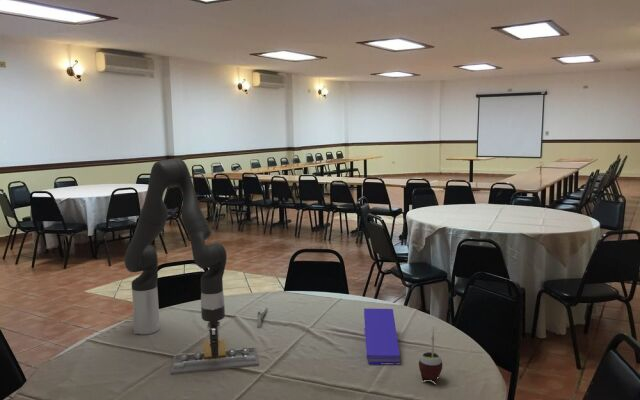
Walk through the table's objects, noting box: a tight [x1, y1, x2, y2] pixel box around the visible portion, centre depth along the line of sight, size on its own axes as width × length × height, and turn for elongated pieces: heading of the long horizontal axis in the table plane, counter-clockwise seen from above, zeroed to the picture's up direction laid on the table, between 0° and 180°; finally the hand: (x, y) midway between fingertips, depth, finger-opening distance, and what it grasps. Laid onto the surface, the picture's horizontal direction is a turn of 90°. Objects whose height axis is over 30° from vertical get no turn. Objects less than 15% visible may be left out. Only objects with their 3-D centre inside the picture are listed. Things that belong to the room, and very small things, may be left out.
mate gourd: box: [418, 326, 444, 383], centre depth 158 cm, size 8×8×15 cm
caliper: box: [256, 307, 269, 328], centre depth 210 cm, size 20×1×6 cm, turn 178°
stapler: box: [363, 308, 401, 365], centre depth 182 cm, size 12×28×10 cm, turn 179°
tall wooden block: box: [203, 339, 227, 359], centre depth 172 cm, size 3×7×6 cm, turn 101°
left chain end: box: [174, 351, 215, 369], centre depth 171 cm, size 13×8×3 cm, turn 101°
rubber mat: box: [170, 347, 260, 376], centre depth 173 cm, size 28×12×1 cm, turn 101°
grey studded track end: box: [215, 346, 255, 364], centre depth 174 cm, size 13×8×3 cm, turn 101°
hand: (215, 350), depth 172 cm, fingers open, 8 cm apart
